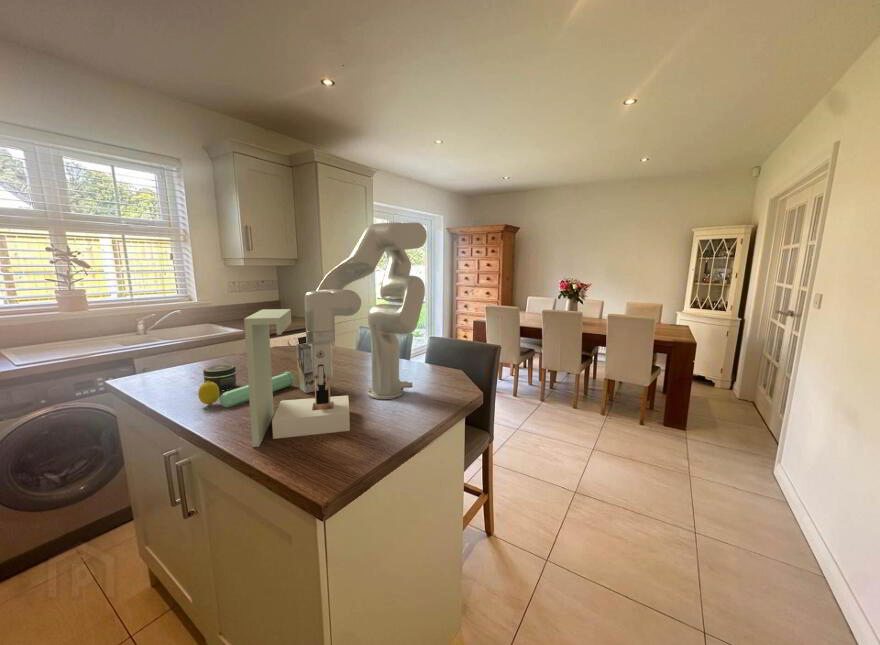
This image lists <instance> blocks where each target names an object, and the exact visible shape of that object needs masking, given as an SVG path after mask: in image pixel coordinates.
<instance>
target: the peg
mask: <svg viewBox="0 0 880 645" xmlns="http://www.w3.org/2000/svg"><path fill="white" fill-rule="evenodd" d="M324 378H326V376H324ZM318 379H319V377H318ZM324 382H325V381H324ZM327 389H328V392H329V403H327V404H317V403H316V390H317V384H316V380H315V391H314V395H315V396H314V398H315V405H316V410H324V409H331V405H330V397H331V379H330V378H327Z"/></svg>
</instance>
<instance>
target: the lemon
mask: <svg viewBox="0 0 880 645" xmlns="http://www.w3.org/2000/svg"><path fill="white" fill-rule="evenodd" d="M220 392H221V391H220ZM220 392H219V388H218V386H217V384H215V383H214V382H210V381H207V382H206V383H204V382H203V383H202V384H201V385H200V387H199V390H198V393H197V394H198V398H199V400H200V402H201V403H203V404H205V405H207V406H209V405H210V406H212V405H213V404H215V403H216V402H217V401H218V400H219V399H220Z"/></svg>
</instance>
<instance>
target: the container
mask: <svg viewBox="0 0 880 645" xmlns="http://www.w3.org/2000/svg"><path fill="white" fill-rule="evenodd" d="M294 384H295V376H294V375H293V374H292V372H291V371H284V372H283V373H281V374H279V375H274V376H272V390H273V393H274V392H276V391H279V390H280V391H281V390H283V389H285V388H287V387H289V388H291V387H292V386H293V385H294ZM219 402H220V404H221V406H222V407H224V408H230V407H234V406H237V405H240V404H242V403H245V402H250V401H249V386H248V384H246V385H244V386H240V387H238V388H233V389H230V390H227V391H224V392H223V393H222V394H221V395H220V396H219Z"/></svg>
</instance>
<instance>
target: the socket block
mask: <svg viewBox="0 0 880 645" xmlns="http://www.w3.org/2000/svg"><path fill="white" fill-rule="evenodd" d="M349 402H350V401H349V395H348V394H347V395H339V396H338V395H337V396H336V395H335V396H330V405H331V409H324V410H316V405H315V397H313V398H301V399H300V398H299V399H287V400H280V402H279V404H278V406H277V407H276V411H275V413H274V415H273V418H272V420H271V425H272V426H271V427H272V440H273V439H274V440H275V439H283V438H293V437H294V438H295V437H304V436H312V435H321V434H322V435H323V434H333V433H339V432H340V433H343V432H349V431H351V424H350V421H351V420H350V417H351V416H350V403H349Z"/></svg>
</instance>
